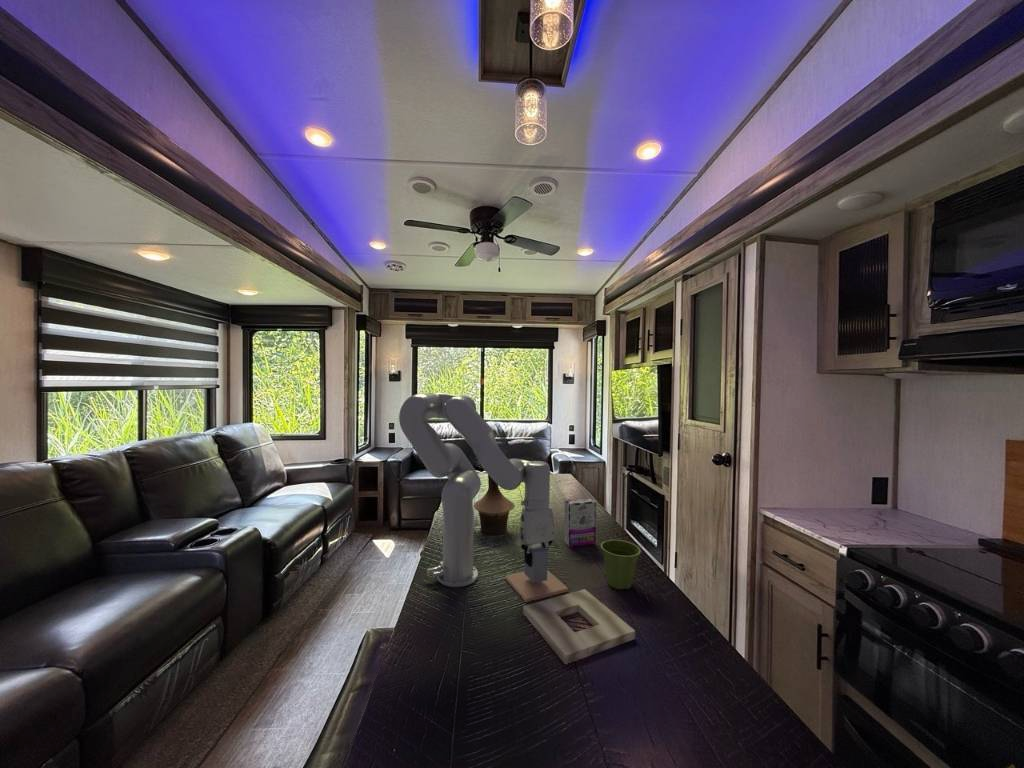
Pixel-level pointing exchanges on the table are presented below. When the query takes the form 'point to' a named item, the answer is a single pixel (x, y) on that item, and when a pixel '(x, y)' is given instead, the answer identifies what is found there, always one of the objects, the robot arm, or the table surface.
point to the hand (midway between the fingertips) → (535, 562)
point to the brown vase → (493, 510)
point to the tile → (535, 586)
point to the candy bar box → (580, 522)
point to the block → (537, 564)
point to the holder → (583, 642)
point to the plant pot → (620, 562)
